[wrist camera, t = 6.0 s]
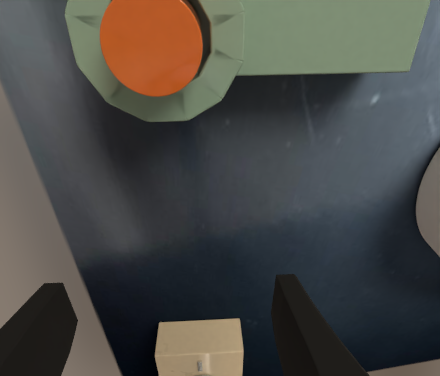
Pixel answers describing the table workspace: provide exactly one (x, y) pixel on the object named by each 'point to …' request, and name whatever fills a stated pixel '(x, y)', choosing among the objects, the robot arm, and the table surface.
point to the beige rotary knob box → (199, 348)
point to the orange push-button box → (260, 46)
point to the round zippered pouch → (430, 204)
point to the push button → (152, 44)
